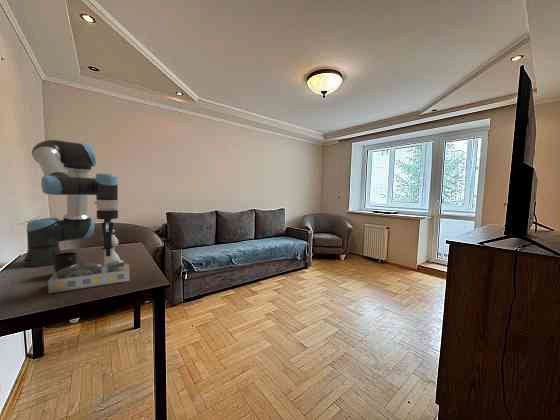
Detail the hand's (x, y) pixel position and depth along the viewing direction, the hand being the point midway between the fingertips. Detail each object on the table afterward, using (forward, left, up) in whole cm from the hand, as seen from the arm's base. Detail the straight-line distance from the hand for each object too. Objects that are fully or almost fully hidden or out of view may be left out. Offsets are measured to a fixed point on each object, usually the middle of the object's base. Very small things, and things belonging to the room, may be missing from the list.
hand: (108, 262), depth 103 cm
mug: (-16, -16, -8) cm, 24 cm away
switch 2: (0, -5, -1) cm, 5 cm away
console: (0, -5, -8) cm, 10 cm away
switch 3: (0, +3, -1) cm, 3 cm away
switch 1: (0, -13, -1) cm, 13 cm away
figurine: (-19, +1, -8) cm, 21 cm away
